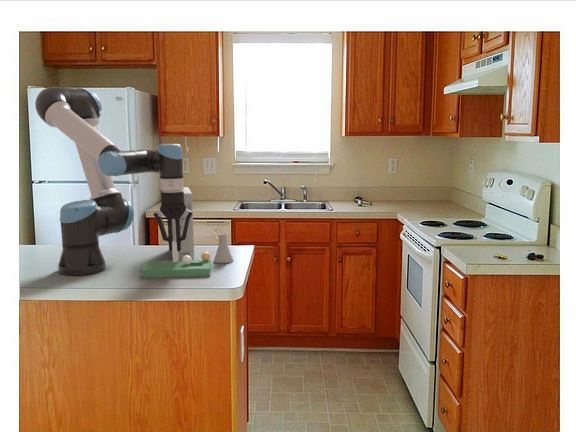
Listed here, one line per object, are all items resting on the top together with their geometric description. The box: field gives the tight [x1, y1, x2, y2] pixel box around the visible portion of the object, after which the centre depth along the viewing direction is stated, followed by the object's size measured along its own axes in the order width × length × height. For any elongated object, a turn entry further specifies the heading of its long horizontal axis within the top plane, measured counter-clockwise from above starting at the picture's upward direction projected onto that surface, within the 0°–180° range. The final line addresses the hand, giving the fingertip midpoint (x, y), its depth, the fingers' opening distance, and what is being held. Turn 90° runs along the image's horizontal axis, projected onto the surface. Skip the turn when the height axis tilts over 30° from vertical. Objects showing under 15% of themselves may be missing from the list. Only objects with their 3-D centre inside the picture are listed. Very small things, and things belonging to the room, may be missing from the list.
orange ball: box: [200, 251, 212, 261], centre depth 183 cm, size 3×3×3 cm
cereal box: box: [171, 186, 195, 260], centre depth 201 cm, size 22×8×25 cm, turn 14°
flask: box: [213, 233, 234, 264], centre depth 192 cm, size 7×7×10 cm
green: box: [141, 259, 213, 279], centre depth 178 cm, size 22×12×2 cm, turn 96°
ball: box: [182, 255, 192, 265], centre depth 178 cm, size 3×3×3 cm
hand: (175, 260), depth 178 cm, fingers closed
